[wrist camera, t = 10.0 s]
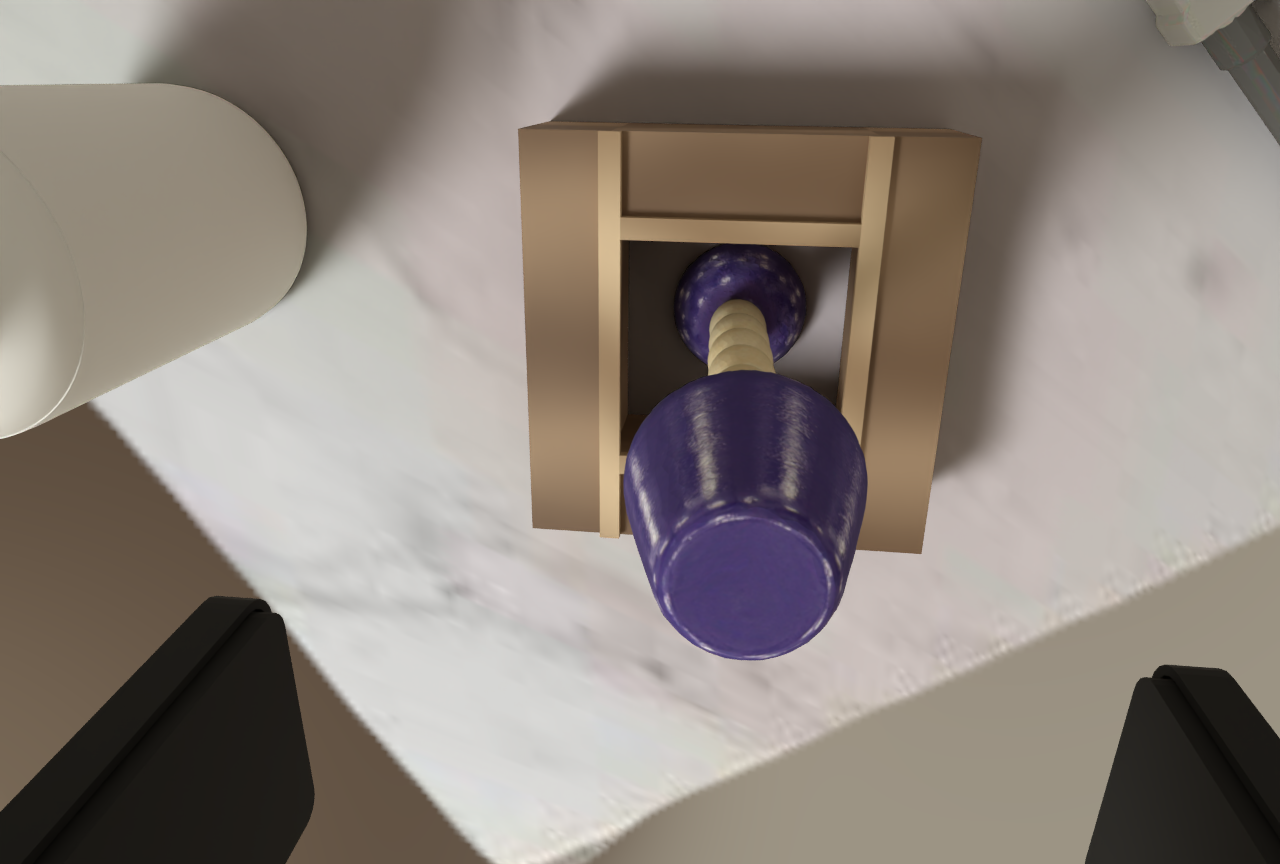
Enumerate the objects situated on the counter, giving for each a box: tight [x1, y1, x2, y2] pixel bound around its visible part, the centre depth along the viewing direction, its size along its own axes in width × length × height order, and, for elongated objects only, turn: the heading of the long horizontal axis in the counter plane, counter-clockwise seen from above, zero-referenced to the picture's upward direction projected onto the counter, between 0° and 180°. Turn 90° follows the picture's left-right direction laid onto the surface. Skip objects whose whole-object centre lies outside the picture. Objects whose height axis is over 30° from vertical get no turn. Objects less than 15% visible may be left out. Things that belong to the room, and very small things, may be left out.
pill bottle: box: [0, 83, 307, 439], centre depth 23 cm, size 8×8×15 cm
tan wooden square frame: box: [518, 121, 982, 554], centre depth 27 cm, size 12×12×4 cm
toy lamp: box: [623, 243, 868, 660], centre depth 22 cm, size 5×5×17 cm
